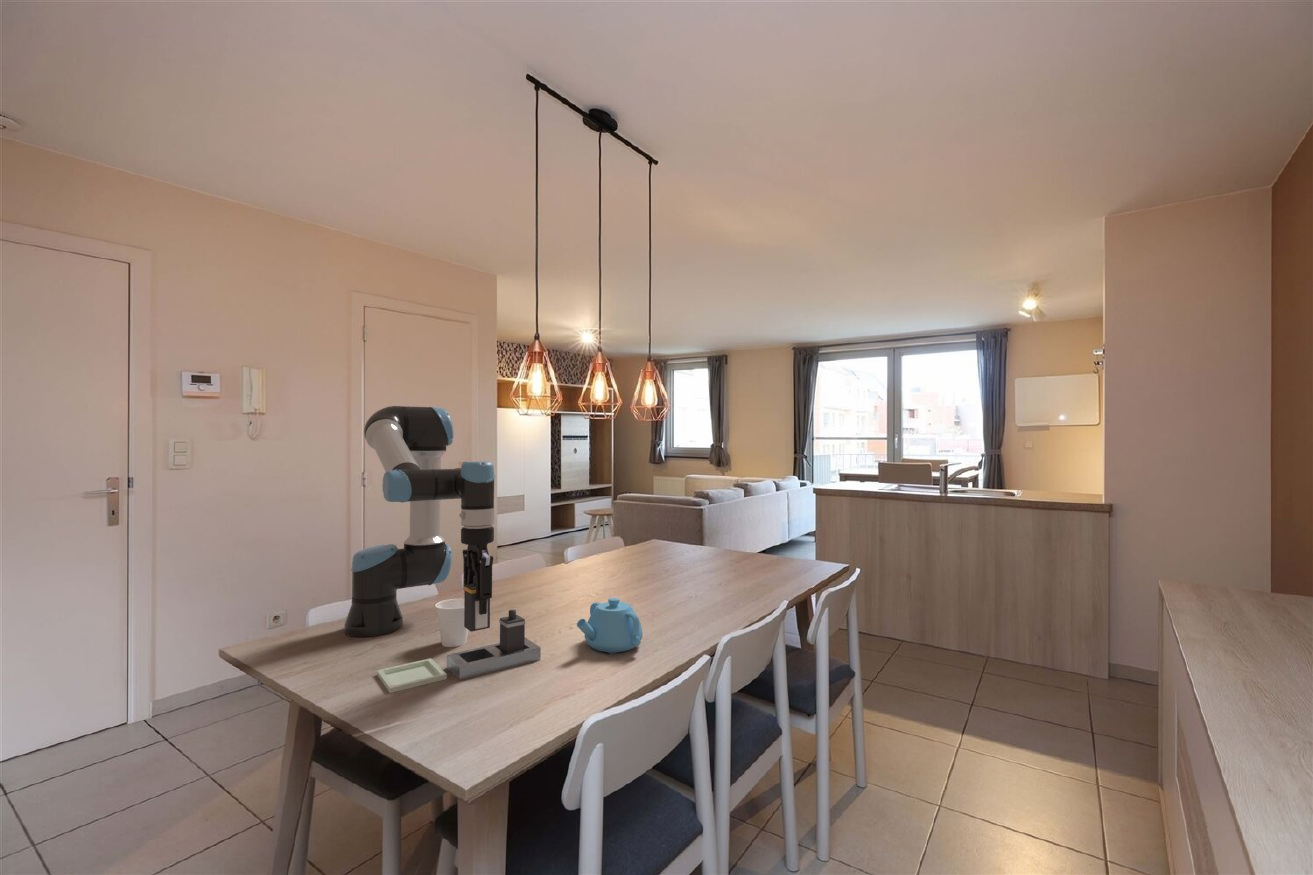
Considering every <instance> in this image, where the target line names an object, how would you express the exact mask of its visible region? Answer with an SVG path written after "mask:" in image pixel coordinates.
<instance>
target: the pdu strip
mask: <svg viewBox="0 0 1313 875" xmlns="http://www.w3.org/2000/svg"><path fill="white" fill-rule="evenodd" d="M541 657H542V656H541V646H539V645H537V643H535V642H533V641H532V640H530V639H528V638H527V637H525V646H524V649H523V650H519V651H515V652H511V653H507V654H504V653H503V652H502V651H500V642H498V643H497V642H496V643H494V644H489V645H485V646H480V647H476V648H471V649H467V650H462V651H458V652H453V653H449V654H446V669H447V670H448V671H449V672H450V673H451V674H453V676H455V677H456V679H458V681H463V680H467V679H471V678H474V677H479V676H482V675H485V674H490V673H494V672H498V671H502V670H505V669H509V668H513V667H517V666H521V665H522V666H523V665H525V664H529V663H533V662H536V661H540V660H541Z"/></svg>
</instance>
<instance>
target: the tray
mask: <svg viewBox="0 0 1313 875" xmlns="http://www.w3.org/2000/svg"><path fill="white" fill-rule="evenodd" d="M376 675H377V677H378V679H379V680H380V681H381V683H382V684H383V685H384V687H385V688H386V690H387V691H388V693H389V694H392V693H396V692H401V691H404V690H409V689H412V688H417V687H421V686H425V685H428V684H433V683H437V682H440V681H445V680H448V674H447V673H446V672H445V670H444V669H442V668H441V666H440V665H438V664H437V662H435V661H434V660H433V659H432V658H431V657H430V658H426V659H422V660H416V661H413V662H408V663H403V664H398V665H395V666H391V667H386V668H382V669H377V670H376Z"/></svg>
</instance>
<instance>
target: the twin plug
mask: <svg viewBox="0 0 1313 875" xmlns="http://www.w3.org/2000/svg"><path fill="white" fill-rule="evenodd" d="M498 623H499V643H500V651H502V652H503V653H504V654H507V653H511V652H515V651H519V650H523V649H524V646H525V638H526V637H525V635H526V634H525V627H526V626H525V625H526V619H525V618H523V617H521V616H520V615H518V614H517V609H509V610H508V616H504V617H500V618H499V622H498Z"/></svg>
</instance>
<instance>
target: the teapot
mask: <svg viewBox="0 0 1313 875" xmlns="http://www.w3.org/2000/svg"><path fill="white" fill-rule="evenodd" d="M620 600H621V599H620V598H618V597H611V598H608V599H607V602H602V603H601V602H600V601H596V602H593V603H592V604H590V606H589V607H590V608H589V614H590V615H589V618H588V619H587V620H586V619H585V618H580V619H578V621H577V623H576V627H577V628H578V629H579V630H580V631H581V632H582V633H583V634H584V639H585V642H587V644H588V646H590V647H591V649H593V650H595V651H599V652H604V653H609V654H613V655H614V654H617V653H619V652H626V651H630V650H632V649H634V648H635V647H638V646H640V645H641V643H642V642H641V641H642V639H643V629H642V628H643V627H642V624H641V620H640V618H639V617H638V615H637V613H636V611H635V610H634V608H633V607H632V606H631V604H629V603H627V602H624V601H620Z"/></svg>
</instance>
